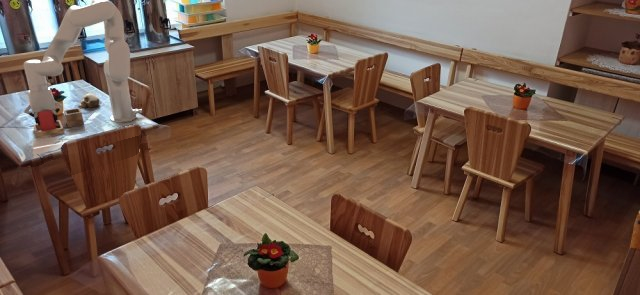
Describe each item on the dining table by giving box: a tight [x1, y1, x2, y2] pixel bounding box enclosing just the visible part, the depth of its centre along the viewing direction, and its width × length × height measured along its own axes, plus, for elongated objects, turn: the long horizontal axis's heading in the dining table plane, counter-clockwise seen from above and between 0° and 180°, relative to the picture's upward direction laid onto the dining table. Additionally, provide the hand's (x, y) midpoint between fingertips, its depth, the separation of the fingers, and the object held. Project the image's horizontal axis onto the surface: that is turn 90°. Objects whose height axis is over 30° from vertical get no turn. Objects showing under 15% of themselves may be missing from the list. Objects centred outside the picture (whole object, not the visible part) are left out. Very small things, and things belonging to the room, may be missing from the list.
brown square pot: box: [63, 107, 85, 128], centre depth 238 cm, size 7×7×7 cm
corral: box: [32, 119, 65, 139], centre depth 230 cm, size 12×12×3 cm
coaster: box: [64, 125, 89, 137], centre depth 231 cm, size 9×9×1 cm
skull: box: [77, 92, 100, 110], centre depth 261 cm, size 12×10×10 cm
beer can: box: [37, 109, 58, 132], centre depth 228 cm, size 7×7×12 cm
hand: (47, 123), depth 228 cm, fingers closed on beer can, 6 cm apart
